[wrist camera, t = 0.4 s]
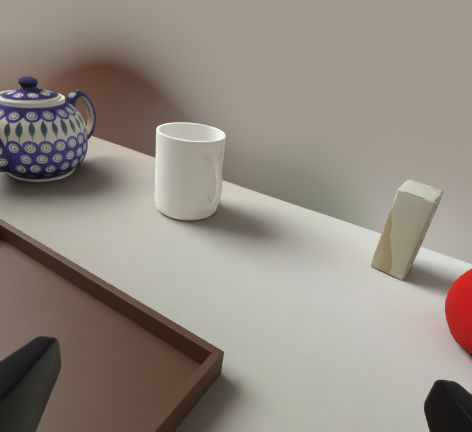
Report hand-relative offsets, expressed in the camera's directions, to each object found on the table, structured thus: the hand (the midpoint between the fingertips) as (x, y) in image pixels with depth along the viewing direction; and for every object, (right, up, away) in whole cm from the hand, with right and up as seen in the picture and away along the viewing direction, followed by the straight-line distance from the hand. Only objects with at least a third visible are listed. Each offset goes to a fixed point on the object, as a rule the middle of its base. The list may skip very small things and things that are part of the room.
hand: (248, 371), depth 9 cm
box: (+20, -3, +39) cm, 44 cm away
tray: (-18, -6, +22) cm, 29 cm away
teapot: (-33, +11, +52) cm, 62 cm away
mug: (-7, +4, +46) cm, 46 cm away
